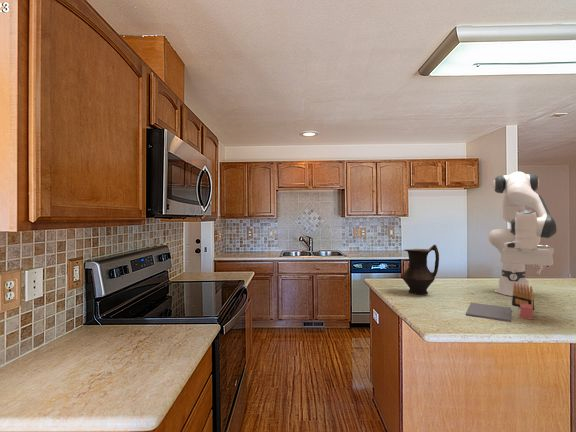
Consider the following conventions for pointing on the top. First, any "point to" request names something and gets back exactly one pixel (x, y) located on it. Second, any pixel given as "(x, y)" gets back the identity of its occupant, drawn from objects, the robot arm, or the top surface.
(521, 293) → the ammunition clip
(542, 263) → the robot arm
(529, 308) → the red rectangular block
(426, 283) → the jug
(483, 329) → the top surface
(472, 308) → the mat
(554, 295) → the top surface
